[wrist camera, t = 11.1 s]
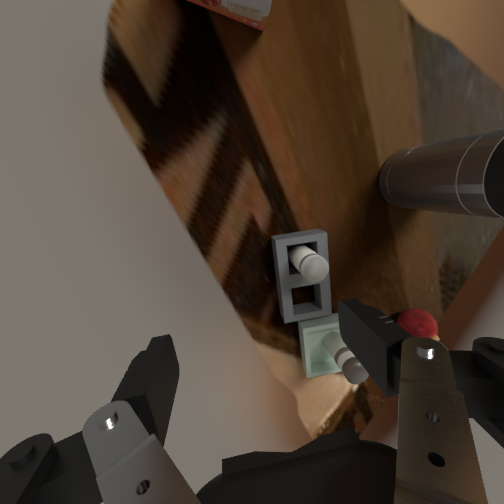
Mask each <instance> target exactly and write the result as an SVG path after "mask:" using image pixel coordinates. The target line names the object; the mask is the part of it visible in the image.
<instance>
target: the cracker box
mask: <svg viewBox="0 0 504 504" xmlns="http://www.w3.org/2000/svg"><path fill="white" fill-rule="evenodd" d="M187 1H190V2H192V3H195V4H197V5H199V6H202V7H204V8H207V9H209V10H212V11H214V12H217V13H219V14H222V15H224V16H226V17H229V18H231V19H234V20H236V21H238V22H241V23H243V24H246V25H248V26H251V27H253V28H255V29H258V30H260V31H263V30H264V27H265V24H266V20H267V17H268V14H269V10H270V7H271V3H272V0H187Z"/></svg>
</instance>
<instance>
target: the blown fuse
mask: <svg viewBox="0 0 504 504" xmlns="http://www.w3.org/2000/svg"><path fill="white" fill-rule="evenodd" d="M323 344H324V346H325V347H326V349H327V350H328V352H329V353H330V355H331V356H332V358H333V359H334V361H335V363H336V364H337V366H338V367H339V368H340V369H341V371H342V373H343V374H344V376H345V377H346V379H347V380H348V381H349V382H350V383H352V384H360V383H362V382H364V381H365V380H366V379H367V378H368V376H369V373H368V372H367V371H366V370H365V368H364V367H363V366H362V365H361V363H360V362H359V361H358V360H357V358H356V357H355V356H354V355H353V353H352V352H351V351H350V350H349V348H348V347H347V346H346V344H345V343H344V342H343V340H342V338H341V335H340V334H339V333H338V332H335V331H332V332H329V333H327V334H326V335H325V336H324V338H323Z"/></svg>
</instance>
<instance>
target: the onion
mask: <svg viewBox="0 0 504 504" xmlns="http://www.w3.org/2000/svg"><path fill="white" fill-rule="evenodd" d="M397 324H398V325H399V326H401V327H402V328H403V329H405V330H406V331H407V332H409V333H410V334H411V335H412V336H414V337H424V338H429V339H432V340H435V341H439V340H440V338H439V337H438V336H437V335H438V326H437V323H436V321H435V320H434V318H433V317H432V316H431V315H430V314H429V313H428V312H426V311H424V310H421V309H407V310H405V311H403V312H402V313H400V315H399V316H398V320H397Z"/></svg>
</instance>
